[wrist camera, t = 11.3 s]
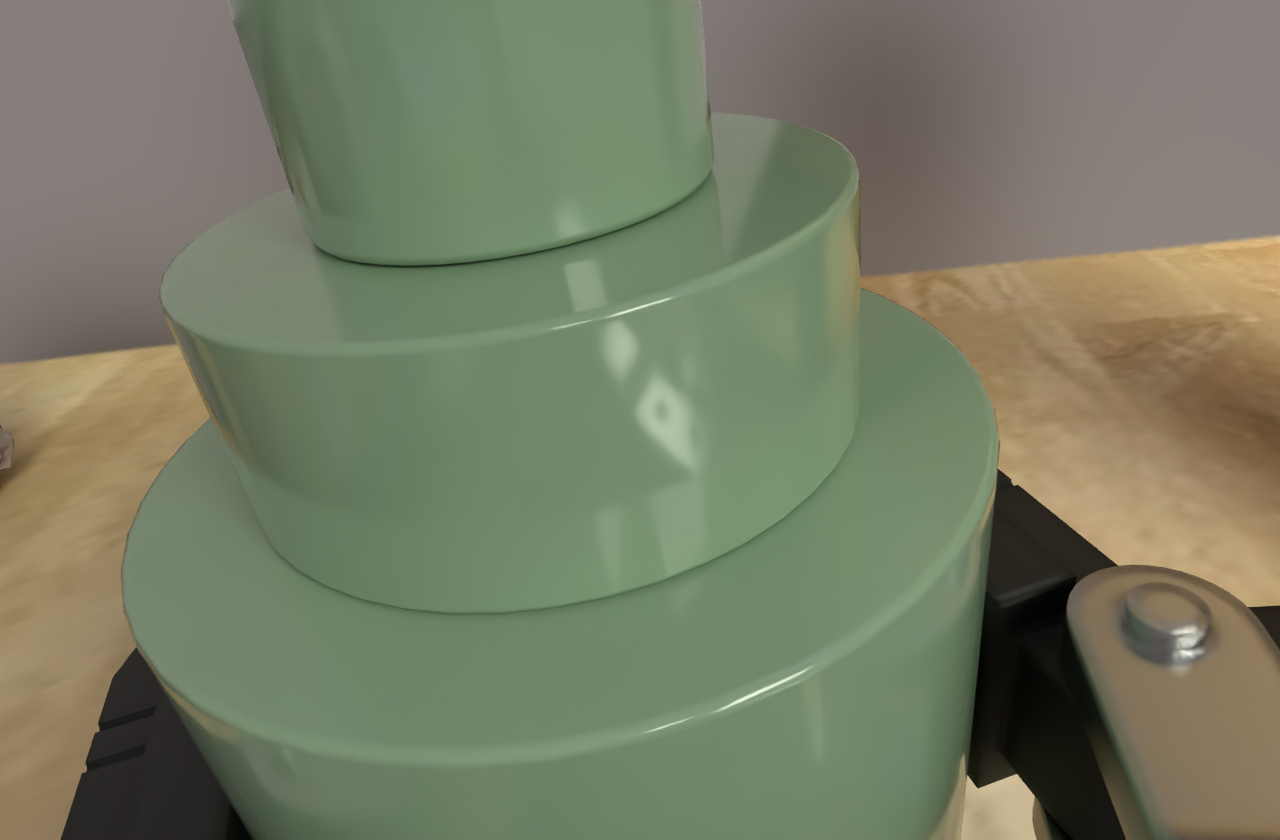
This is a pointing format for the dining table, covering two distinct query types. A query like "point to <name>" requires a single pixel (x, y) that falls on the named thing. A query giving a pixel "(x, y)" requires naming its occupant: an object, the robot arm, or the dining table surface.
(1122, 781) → the robot arm
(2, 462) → the grey rough block
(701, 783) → the sage bottle
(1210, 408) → the dining table surface
